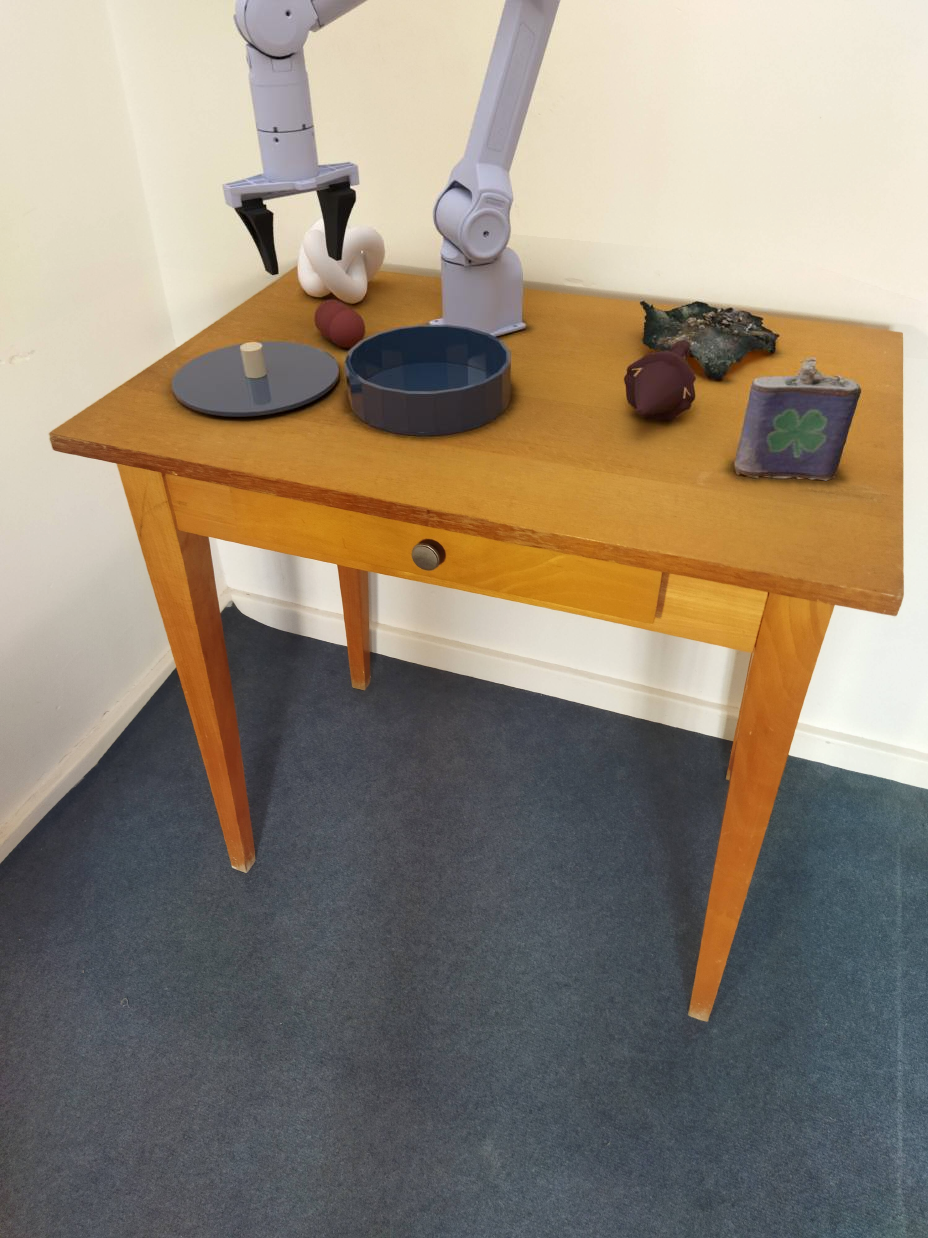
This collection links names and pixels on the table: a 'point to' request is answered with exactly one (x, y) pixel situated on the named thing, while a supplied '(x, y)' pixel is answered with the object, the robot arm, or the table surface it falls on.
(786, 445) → the flask
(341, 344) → the sweet potato
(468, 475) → the table surface
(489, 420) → the dark blue bowl
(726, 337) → the decorative rock
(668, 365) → the dark maroon rounded piece
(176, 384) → the lid
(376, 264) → the white twisted tube
